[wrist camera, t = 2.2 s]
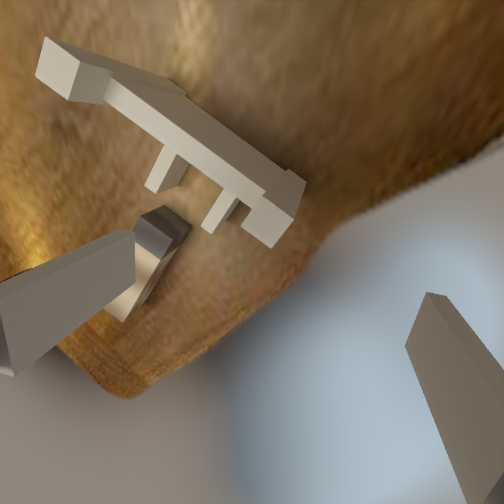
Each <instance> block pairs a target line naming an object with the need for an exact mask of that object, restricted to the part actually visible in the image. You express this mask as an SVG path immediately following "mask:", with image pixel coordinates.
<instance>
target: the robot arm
mask: <svg viewBox="0 0 504 504" xmlns="http://www.w3.org/2000/svg"><path fill="white" fill-rule="evenodd" d="M135 283H136V276H135V232H134V231H129V230H124V229H118V230H116V231H114V232H112V233H109V234H107V235H105V236H103V237H101V238H98V239H96V240H94V241H92V242H90V243H87V244H85V245H83V246H81V247H79V248H76V249H74V250H72V251H70V252H67V253H65V254H63V255H61V256H59V257H56V258H54V259H52V260H50V261H48V262H45V263H43V264H41V265H39V266H37V267H34V268H31V269H27V270H25V271H23V272H21V273H18V274H16V275H14V277H9V278H7V279H5V280H3V282H0V373H3V374H6V375H9V376H13V377H15V376H16V375H18V374H19V373H20V372H22V371H23V370H24V369H26V368H27V367H28V366H29V365H30V364H32V363H33V362H35V361H36V360H37V359H38V358H40V357H41V356H42V355H43V354H45V353H46V352H47V351H49V350H50V349H51V348H52V347H54V346H55V345H56V344H58V343H59V342H60V341H61V340H63V339H64V338H65V337H67V336H68V335H69V334H70V333H72V332H73V331H74V330H76V329H77V328H78V327H79V326H81V325H82V324H83V323H85V322H86V321H87V320H88V319H90V318H91V317H92V316H94V315H95V314H96V313H97V312H99V311H100V310H101V309H103V308H104V307H105V306H106V305H108V304H109V303H110V302H112V301H113V300H114V299H115V298H117V297H118V296H119V295H120V294H122V293H123V292H124V291H126V290H127V289H128V288H129V287H131V286H132V285H133V284H135ZM405 347H406V350H407V352H408V355H409V357H410V360H411V363H412V365H413V368H414V370H415V373H416V375H417V378H418V380H419V383H420V385H421V388H422V390H423V393H424V395H425V398H426V401H427V403H428V406H429V408H430V411H431V413H432V416H433V418H434V421H435V423H436V426H437V428H438V431H439V434H440V436H441V439H442V441H443V444H444V446H445V449H446V451H447V454H448V456H449V459H450V461H451V464H452V467H453V469H454V471H455V474H456V477H457V479H458V482H459V484H460V487H461V489H462V492H463V494H464V497H465V500H466V502H467V504H504V370H503V368H502V367H501V366H500V364H499V363H498V362H497V361H496V359H495V358H494V357H493V355H492V354H491V353H490V352H489V350H488V349H487V348H486V347H485V345H484V344H483V343H482V341H481V340H480V339H479V338H478V336H477V335H476V334H475V332H474V331H473V330H472V329H471V327H470V326H469V325H468V323H467V322H466V321H465V320H464V318H463V317H462V316H461V314H460V313H459V312H458V310H457V309H456V308H455V307H454V305H453V304H452V303H451V302H450V300H449V299H448V298H447V296H443V295H438V294H434V293H429V292H426V294H425V297H424V299H423V302H422V304H421V307H420V310H419V312H418V315H417V317H416V320H415V322H414V324H413V327H412V329H411V332H410V334H409V337H408V339H407V342H406V344H405Z"/></svg>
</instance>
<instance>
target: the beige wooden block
mask: <svg viewBox="0 0 504 504" xmlns="http://www.w3.org/2000/svg"><path fill="white" fill-rule="evenodd" d="M191 227H192V225H190V224H189V223H188V222H186V221H185V220H183V219H182V218H181V217H179V216H178V215H177V214H175V213H174V212H172V211H171V210H170V209H168V208H167V207H165V206H164V205H163V206H161V207H159V208H157V209H154V210H152V211H150V212H148V213H146V214H144V215H141V216H140V217H139V219H138V221H137V223H136V225H135V227H134V229H133V231H134V232H135V276H136V283H135V284H133V285H132V286H131V287H129V288H128V289H127V290H126V291H124V292H123V293H122V294H120V295H119V296H118V297H117V298H115V299H114V300H113V301H112V302H110V303H109V304H108V305H106V306H105V307H104V308H103V309H104V310H106V311H107V312H109V313H110V314H112V315H113V316H114V317H116V318H117V319H119V320H120V321H122V322H123V323H124V322H125V321H126V320H127V319H128V318H129V317H130V316H131V315H132V314H133V313H134V312H135V311H136V310H137V309H138V308H139V307H140V306H141V305H142V304H143V303H145V301H146V299H147V298H148V296H149V294H150V293H151V291H152V290H153V288H154V286H155V285H156V283H157V281H158V280H159V278H160V276H161V275H162V273H163V272H164V270H165V268H166V267H167V265H168V263H169V262H170V260H171V258H172V257H173V255H174V254H175V252H176V250H177V249H178V247H179V246H180V245H181V244H182V242H183V240H184V239H185V237H186V235H187V234H188V232H189V231H190V229H191Z"/></svg>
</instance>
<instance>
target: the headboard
mask: <svg viewBox="0 0 504 504" xmlns="http://www.w3.org/2000/svg"><path fill="white" fill-rule="evenodd" d="M35 77H37V78H38V79H39V80H41V81H42V82H43V83H45V84H46V85H47V86H49V87H50V88H52V89H53V90H54V91H56V92H57V93H58V94H60V95H61V96H63V97H64V98H65V99H67V100H69V101H77V102H85V103H93V104H101V105H109V106H113V107H114V108H115V109H117V110H118V111H119V112H121V113H122V114H124V115H125V116H126V117H128V118H129V119H130V120H132V121H133V122H134V123H136V124H137V125H139V126H140V127H141V128H143V129H144V130H145V131H147V132H148V133H149V134H151V135H152V136H154V137H155V138H156V139H158V140H159V141H160V142H162V143H163V144H164V146H163V148H162V151H161V153H160V155H159V157H158V159H157V161H156V163H155V165H154V167H153V169H152V171H151V173H150V175H149V177H148V179H147V181H146V183H145V185H144V186H145V187H147V188H148V189H150V190H151V191H152V192H154V193H155V194H157V193H160V192H162V191H165V190H168V189H171V188H173V187H176V186H178V184H179V182H180V180H181V179H182V177H183V175H184V173H185V171H186V169H187V168H188V166H189V164H192V165H193V166H194V167H196V168H197V169H198V170H200V171H201V172H203V173H204V174H205V175H207V176H208V177H209V178H211V179H212V180H213V181H215V182H216V183H218V184H219V185H220V186H222V187H223V188H224V189H223V191H222V192H221V194H220V196H219V197H218V199H217V200H216V202H215V204H214V205H213V207H212V208H211V210H210V212H209V213H208V215H207V216H206V218H205V220H204V221H203V223H202V224H201V227H202V228H203V229H205V230H206V231H208V232H209V233H210V234H213V233H214V232H215V231H216V230H217V229H218V228H219V227H220V226H221V225H222V224H224V223H225V222H226V220H227V219H228V217H229V216H230V214H231V213H232V211H233V210H234V208H235V207H236V205H237V204H238V202H239V201H240V200H241V201H242V202H243V203H245V204H246V205H248V206H249V207H250V208H252V210H251V212H250V213H249V215H248V216H247V218H246V219H245V220H244V222H243V223H242V225H241V227H242V228H243V229H245V230H246V231H248V232H249V233H250V234H252V235H253V236H254V237H256V238H257V239H259V240H260V241H261V242H263V243H264V244H265V245H267V246H268V247H270V248H272V247H273V246H274V245H275V243H276V242H277V241H278V239H279V238H280V237H281V236H282V234H283V233H284V232H285V231H286V229H287V228H288V227H289V226H290V224H291V223H292V222H293V220H294V219H295V216H296V213H297V210H298V207H299V204H300V201H301V198H302V195H303V192H304V189H305V186H306V183H307V182H306V181H305V180H303V179H302V178H300V177H299V176H298V175H296V174H295V173H294V172H292V171H291V170H290V169H287V170H286V171H285V170H283V169H282V168H281V167H279V166H278V165H276V164H275V163H274V162H272V161H271V160H270V159H268V158H267V157H266V156H264V155H263V154H262V153H260V152H259V151H258V150H256V149H255V148H254V147H252V146H251V145H250V144H248V143H247V142H246V141H244V140H243V139H242V138H240V137H239V136H238V135H236V134H235V133H233V132H232V131H231V130H229V129H228V128H227V127H225V126H224V125H223V124H221V123H220V122H219V121H217V120H216V119H215V118H213V117H212V116H211V115H209V114H208V113H207V112H205V111H204V110H203V109H201V108H200V107H199V106H197V105H196V104H195V103H193V102H192V101H191V100H189V99H188V98H186V97H185V95H186V92H185V91H184V90H182V89H181V88H180V87H178V86H177V85H176V84H174V83H173V82H172V81H170V80H169V79H168V78H165V77H162V76H159V75H156V74H153V73H151V72H148V71H145V70H142V69H139V68H136V67H133V66H130V65H128V64H125V63H122V62H119V61H116V60H113V59H110V58H107V57H105V56H102V55H99V54H96V53H93V52H90V51H87V50H85V49H82V48H79V47H76V46H73V45H70V44H67V43H64V42H62V41H59V40H56V39H53V38H50V37H47V36H45V39H44V43H43V47H42V51H41V55H40V59H39V62H38V66H37V70H36V74H35Z"/></svg>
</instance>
